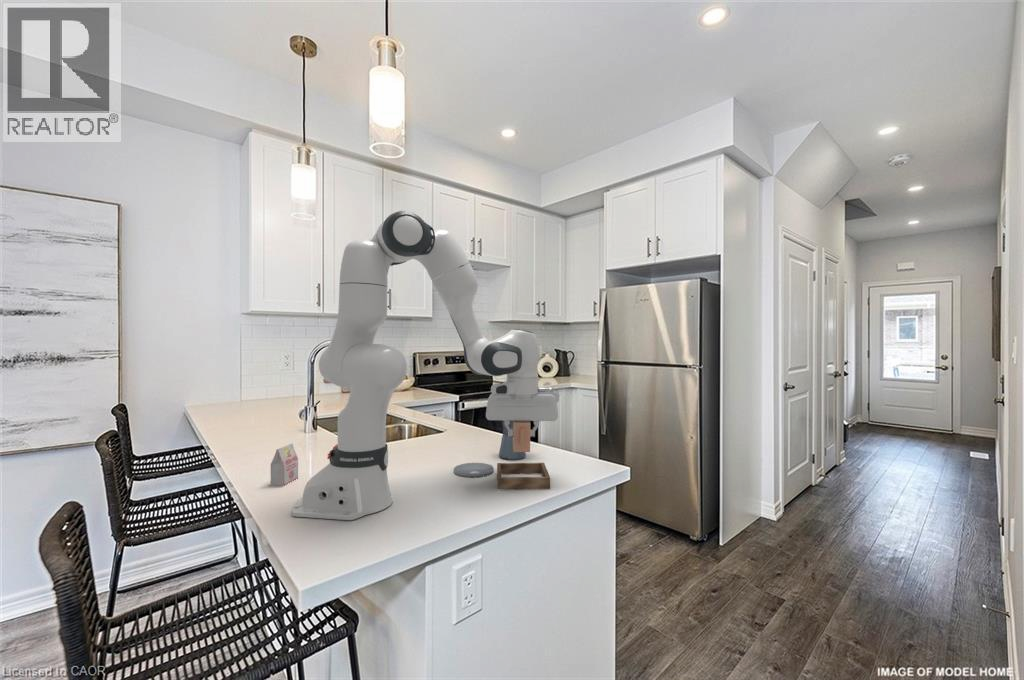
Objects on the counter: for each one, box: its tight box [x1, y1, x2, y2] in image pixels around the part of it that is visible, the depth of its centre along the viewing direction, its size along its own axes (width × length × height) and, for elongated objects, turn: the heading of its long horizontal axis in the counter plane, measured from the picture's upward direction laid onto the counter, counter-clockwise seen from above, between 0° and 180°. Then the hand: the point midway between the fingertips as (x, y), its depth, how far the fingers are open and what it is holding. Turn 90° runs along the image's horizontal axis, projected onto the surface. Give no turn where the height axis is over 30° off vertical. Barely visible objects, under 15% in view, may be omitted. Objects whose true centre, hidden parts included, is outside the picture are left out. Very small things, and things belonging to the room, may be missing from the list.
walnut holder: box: [496, 462, 551, 490], centre depth 126 cm, size 14×14×3 cm
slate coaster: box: [453, 462, 495, 479], centre depth 134 cm, size 12×12×1 cm
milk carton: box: [270, 443, 299, 487], centre depth 124 cm, size 4×7×10 cm, turn 173°
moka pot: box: [490, 420, 527, 461], centre depth 150 cm, size 10×15×20 cm, turn 89°
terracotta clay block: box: [513, 421, 531, 453], centre depth 125 cm, size 8×4×8 cm, turn 2°
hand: (521, 436), depth 125 cm, fingers closed on terracotta clay block, 4 cm apart
